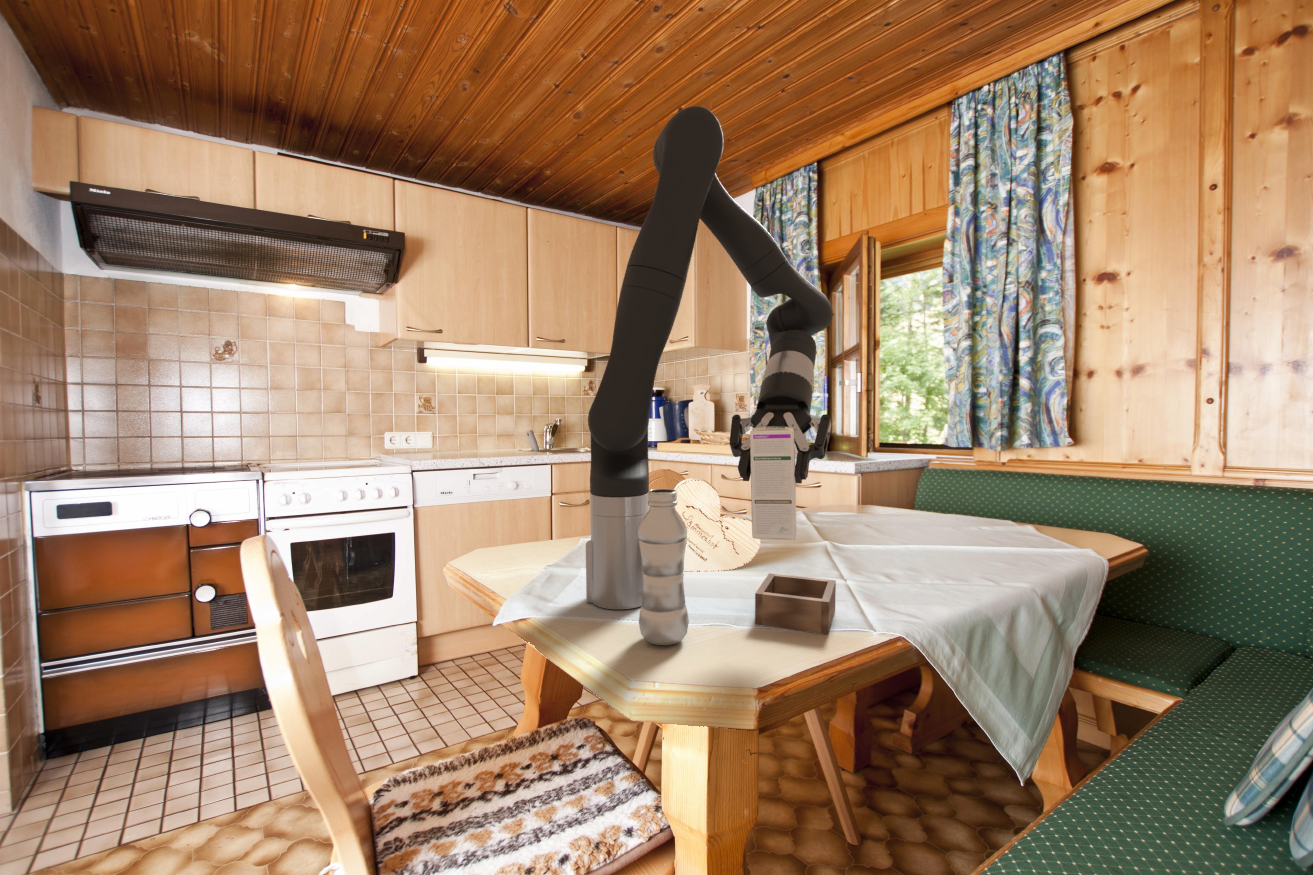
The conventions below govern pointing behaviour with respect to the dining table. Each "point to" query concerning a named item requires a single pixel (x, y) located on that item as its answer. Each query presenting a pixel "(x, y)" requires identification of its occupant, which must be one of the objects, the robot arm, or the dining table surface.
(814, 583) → the walnut sleeve
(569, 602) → the dining table surface
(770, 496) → the syrup box
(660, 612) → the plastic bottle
